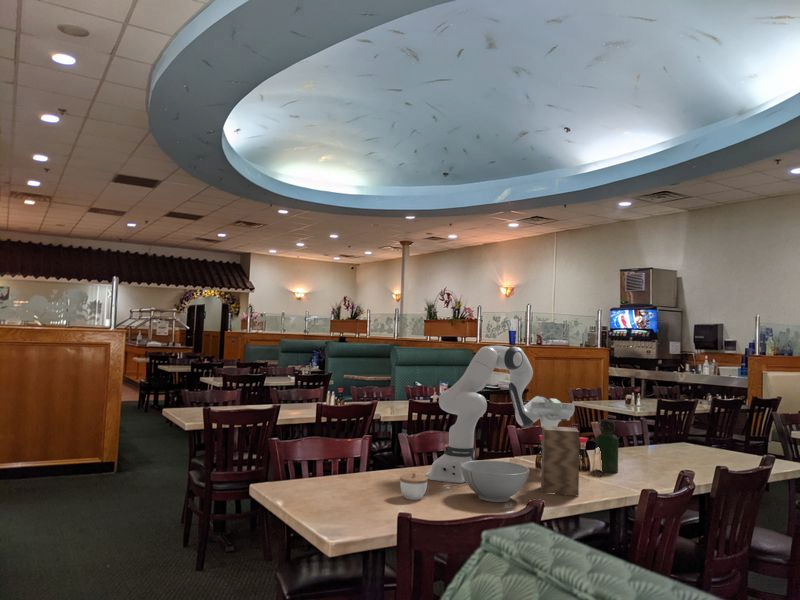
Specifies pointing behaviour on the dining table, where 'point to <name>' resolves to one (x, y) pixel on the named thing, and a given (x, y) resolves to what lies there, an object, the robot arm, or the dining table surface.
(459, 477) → the robot arm
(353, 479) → the dining table surface
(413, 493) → the lidded jar
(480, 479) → the decorative bowl
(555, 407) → the sage block
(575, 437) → the wood grain block
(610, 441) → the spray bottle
